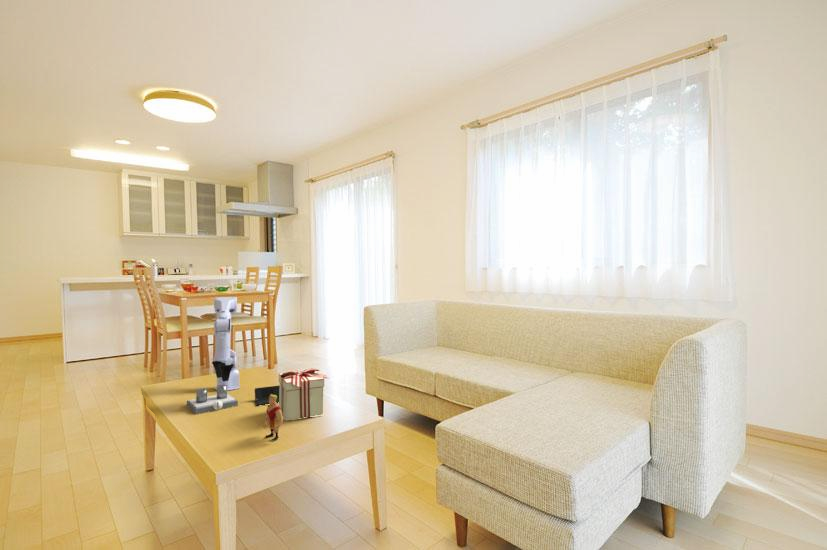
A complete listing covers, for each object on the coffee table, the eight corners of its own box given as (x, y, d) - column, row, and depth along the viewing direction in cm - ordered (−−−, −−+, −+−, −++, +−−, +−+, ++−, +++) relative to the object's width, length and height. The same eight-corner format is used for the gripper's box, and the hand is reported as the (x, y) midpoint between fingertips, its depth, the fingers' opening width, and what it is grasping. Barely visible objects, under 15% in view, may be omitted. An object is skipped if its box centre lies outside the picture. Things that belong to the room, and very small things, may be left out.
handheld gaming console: (258, 404, 167) (257, 381, 173) (253, 411, 172) (252, 388, 177) (285, 403, 174) (284, 381, 180) (280, 409, 178) (278, 388, 184)
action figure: (260, 435, 138) (260, 392, 138) (270, 432, 141) (270, 389, 141) (274, 443, 132) (274, 398, 132) (284, 440, 135) (284, 395, 135)
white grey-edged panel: (226, 397, 180) (226, 389, 180) (238, 406, 169) (238, 397, 169) (186, 405, 169) (186, 396, 169) (196, 414, 158) (196, 405, 158)
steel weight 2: (225, 395, 175) (225, 384, 175) (228, 398, 172) (228, 386, 172) (215, 397, 172) (215, 385, 172) (218, 399, 169) (218, 387, 169)
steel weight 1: (204, 399, 170) (205, 387, 170) (208, 401, 167) (208, 389, 167) (194, 401, 167) (195, 389, 167) (197, 403, 164) (198, 391, 164)
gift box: (288, 425, 148) (288, 378, 148) (275, 411, 163) (275, 368, 163) (332, 416, 157) (332, 372, 157) (316, 404, 173) (316, 363, 173)
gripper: (207, 346, 175) (207, 377, 175) (218, 350, 164) (217, 384, 164) (224, 344, 179) (224, 374, 179) (236, 348, 169) (235, 381, 169)
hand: (222, 379), depth 172 cm, fingers open, 7 cm apart
